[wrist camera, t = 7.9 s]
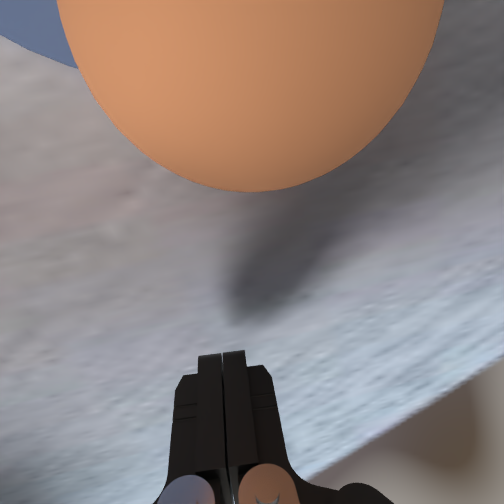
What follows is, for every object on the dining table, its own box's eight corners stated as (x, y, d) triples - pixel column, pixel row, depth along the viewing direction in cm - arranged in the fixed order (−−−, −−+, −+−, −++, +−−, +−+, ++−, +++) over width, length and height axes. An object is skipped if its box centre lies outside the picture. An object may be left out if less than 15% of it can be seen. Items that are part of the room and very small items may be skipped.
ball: (-288, -396, 2) (65, 228, 7) (715, -82, 2) (353, 266, 7) (71, -419, 4) (130, 40, 9) (497, -266, 5) (338, 83, 10)
